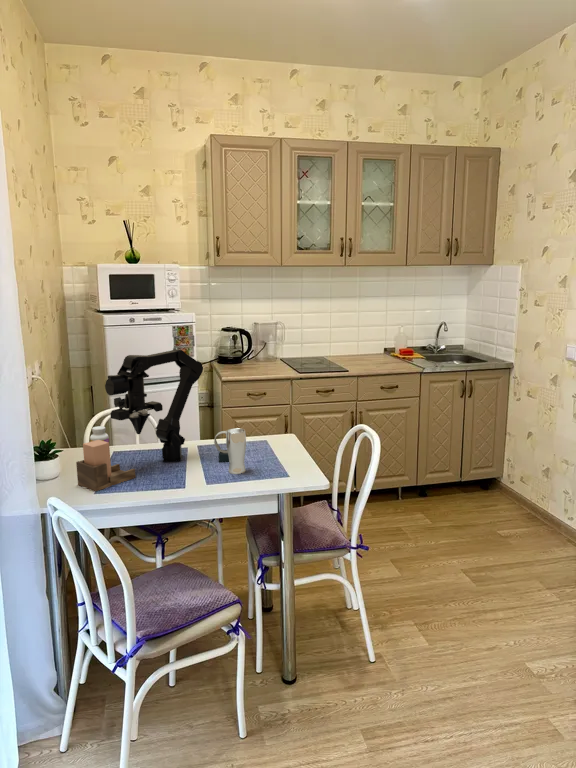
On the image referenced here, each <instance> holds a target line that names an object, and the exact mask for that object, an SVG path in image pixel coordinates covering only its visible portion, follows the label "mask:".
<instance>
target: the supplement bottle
mask: <svg viewBox="0 0 576 768" xmlns="http://www.w3.org/2000/svg"><path fill="white" fill-rule="evenodd" d="M91 431H92V434H91V435H90V437H89V442H92V441H95V440H101V441H105V442H108V443H109V444H110V438H109V434H108V433H106V426H100V425H99V426H93V427H92V429H91Z"/></svg>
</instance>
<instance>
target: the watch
mask: <svg viewBox="0 0 576 768" xmlns="http://www.w3.org/2000/svg"><path fill="white" fill-rule="evenodd" d="M222 434H225V435H226V434H227V430H221V431H219V432H217V434H215V436H214V441H213V444H214V446H215V448H216V450H217V451H218V463H229V457H228V452H227V449H221V446H219V445H220V444H219V443H218V441H217V437H218V436H220V435H222Z"/></svg>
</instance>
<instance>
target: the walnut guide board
mask: <svg viewBox="0 0 576 768" xmlns="http://www.w3.org/2000/svg"><path fill="white" fill-rule="evenodd" d="M75 465H76V476H77V485H78V486H80V487H83V488H85V489H89V490H91V491H94V492H98V491H101V490H104V489H107V488H110V487H112V485H113V486H116V485H118V484H122V483H124V481H125V482H127V481H130V480H133V479H135V478H137V475H136V469H135V468H131V469H128V470H122V469H121V464H120V463H116V464H113V465H111V475H112V476H109V481H108V475H107V464H106V463H104V464H100V465H97V466H92V465H89V464H86V463H84V459H83V460H77V461H76V462H75ZM121 482H122V483H121Z"/></svg>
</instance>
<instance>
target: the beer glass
mask: <svg viewBox="0 0 576 768" xmlns="http://www.w3.org/2000/svg"><path fill="white" fill-rule="evenodd" d="M226 431H227V434H225V436H226V439H225V445H226V450H227V452H228V457H229V462H228V474H231V475H241V473H242V474H245V472H246V471H247V470H246V465H245V457H246V450H247V436H246V429H244V428H241V427H240V428H239V427H236V428H235V427H234V428H229V429H227V430H226Z"/></svg>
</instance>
